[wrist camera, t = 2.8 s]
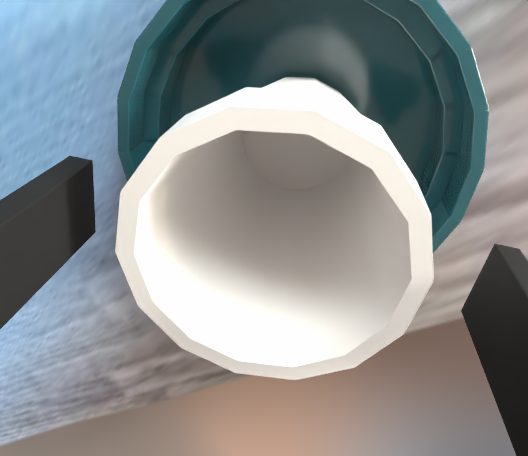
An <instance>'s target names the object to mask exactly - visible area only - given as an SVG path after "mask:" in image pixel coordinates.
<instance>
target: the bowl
mask: <svg viewBox="0 0 528 456" xmlns="http://www.w3.org/2000/svg"><path fill="white" fill-rule="evenodd" d="M285 77H304V78H316V79H317V80H319V81H321V82H323V83H324V84H326V85H328V86H330V87H332V88H333V89H335V90H337V91H338V92H340V93H341V94H342V95H343V96H344V97H345V98H346V99H347V101H348V102H349V103H350V104H351V105H352V106H353V107H354V108H355V109H356V110H357V111H358V112H359V113H360V114H361V115H363V116H364V117H366V118H368V119H370V120H372V121H373V122H375V123H377V124H379V125H381V127H382V128H383V130H384V131H385V133H386V134H387V136H388V137H389V139H390V141H391V142H392V144H393V145H394V147H395V148H396V150H397V151H398V153H399V155H400V156H401V158H402V159H403V161H404V162H405V164H406V165H407V167H408V168H409V170H410V172H411V173H412V175H413V176H414V178H415V179H416V181H417V183H418V186H419V188H420V190H421V192H422V195H423V197H424V199H425V202H426V204H427V206H428V209H429V211H430V213H431V217H432V246H433V253H434V251H435V250H436V249H437V248H438V247H439V246H440V245H441V244H442V242H443V241H444V240H445V239H446V238H447V237H448V236H449V234H450V233H451V232H452V231H453V230H454V229H455V228H456V227H457V225H458V224H459V223H460V222H461V220H462V218H463V216H464V214H465V211H466V209H467V207H468V205H469V202H470V200H471V198H472V196H473V193H474V191H475V189H476V186H477V184H478V182H479V180H480V177H481V175H482V173H483V171H484V165H485V153H486V141H487V129H488V116H489V106H488V103H487V99H486V95H485V92H484V88H483V85H482V81H481V78H480V74H479V70H478V67H477V63H476V60H475V56H474V53H473V49H472V47H471V45H470V44H469V42H468V41H467V40H466V38H465V37H464V36H463V34H462V33H461V32H460V30H459V29H458V28H457V26H456V25H455V24H454V22H453V21H452V20H451V18H450V17H449V16H448V14H447V13H446V12H445V10H444V9H443V8H442V6H441V5H440V4H439V2H438V1H437V0H167V1H166V2H165V3H164V5H163V6H162V7H161V9H160V10H159V11H158V12H157V14H156V15H155V16H154V18H153V19H152V20H151V22H150V23H149V24H148V26H147V27H146V28H145V29H144V31H143V32H142V33H141V35H140V36H139V37H138V39H137V40H136V42H135V44H134V47H133V50H132V53H131V56H130V59H129V62H128V66H127V69H126V72H125V75H124V78H123V81H122V84H121V87H120V90H119V94H118V154H119V157H120V160H121V163H122V166H123V169H124V172H125V175H126V178H127V181H129V179H130V178H131V176H132V175H133V174H134V172H135V171H136V169H137V168H138V167H139V165H140V164H141V163H142V161H143V160H144V158H145V157H146V156H147V154H148V153H149V152H150V150H151V149H152V147H153V146H154V145H155V143H156V142H157V140H158V139H159V138H160V137H161V136H162V135H163V134H164V133H166V132H167V131H168V130H169V129H170V128H171V127H172V126H173V125H175V124H176V123H177V122H178V121H179V120H180V119H181V118H183V117H184V116H185V115H186V114H189V113H191V112H193V111H195V110H197V109H200V108H202V107H204V106H206V105H208V104H211V103H213V102H215V101H217V100H219V99H222V98H224V97H226V96H228V95H230V94H232V93H235V92H237V91H239V90H241V89H243V88H246V87H251V88H262V87H265V86H267V85H269V84H272V83H274V82H276V81H278V80H281V79H283V78H285Z"/></svg>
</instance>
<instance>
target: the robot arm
mask: <svg viewBox="0 0 528 456" xmlns="http://www.w3.org/2000/svg"><path fill="white" fill-rule="evenodd" d="M94 233H95V209H94V186H93V163H92V160H88V159H83V158H78V157H73V156H69V157H67V158H66V159H64V160H63V161H61V162H60V163H58V164H56V165H55V166H53V167H52V168H50V169H49V170H47V171H45V172H44V173H42V174H41V175H39V176H38V177H36V178H35V179H33V180H31V181H30V182H28V183H27V184H25V185H24V186H22V187H20V188H19V189H17V190H16V191H14V192H13V193H11V194H9V195H8V196H6V197H5V198H3V199H2V200H0V329H1V328H2V327H3V326H4V325H5V324H6V323H7V322H8V321H9V320H10V319H11V318H12V317H13V316H14V315H15V314H16V313H17V312H18V311H19V310H20V309H21V308H22V306H23V305H24V304H25V303H26V302H27V301H28V300H29V299H30V298H31V297H32V296H33V295H34V294H35V293H36V292H37V291H38V290H39V289H40V288H41V287H42V286H43V285H44V284H45V283H46V282H47V281H48V280H49V279H50V278H51V277H52V276H53V275H54V274H55V273H56V272H57V271H58V270H59V269H60V268H61V267H62V266H63V265H64V264H65V263H66V262H67V261H68V260H69V259H70V257H71V256H72V255H73V254H74V253H75V252H76V251H77V250H78V249H79V248H80V247H81V246H82V245H83V244H84V243H85V242H86V241H87V240H88V239H89V238H90V237H91V236H92V235H93V234H94ZM461 312H462V314H463V317H464V319H465V322H466V324H467V327H468V330H469V332H470V335H471V338H472V340H473V343H474V346H475V348H476V351H477V353H478V356H479V359H480V361H481V364H482V366H483V369H484V372H485V374H486V377H487V380H488V382H489V385H490V388H491V390H492V392H493V395H494V398H495V401H496V403H497V406H498V408H499V411H500V414H501V416H502V419H503V422H504V424H505V427H506V429H507V432H508V434H509V437H510V440H511V442H512V445H513V448H514V450H515V453H516V456H528V261H527V259H526V258H525V256H524V255H523V254H522V252H521V251H520V249H517V248H512V247H508V246H503V245H498V244H494V246H493V248H492V250H491V252H490V254H489V256H488V258H487V260H486V262H485V264H484V266H483V268H482V270H481V272H480V274H479V276H478V278H477V280H476V282H475V284H474V286H473V288H472V290H471V292H470V294H469V296H468V298H467V300H466V302H465V304H464V306H463V308H462V310H461Z"/></svg>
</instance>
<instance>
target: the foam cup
mask: <svg viewBox="0 0 528 456" xmlns="http://www.w3.org/2000/svg"><path fill="white" fill-rule="evenodd" d="M115 253H116V255H117V257H118V260H119V262H120V264H121V267H122V269H123V272H124V274H125V276H126V279H127V281H128V283H129V286H130V288H131V291H132V293H133V295H134V298H135V300H136V302H137V305H138V307H140V308H141V309H142V310H143V311H144V312H145V313H146V314H147V315H148V316H149V317H150V318H151V319H152V320H153V321H154V322H155V323H156V324H157V325H158V326H159V327H160V328H161V329H162V330H163V331H164V332H165V333H166V334H167V335H168V336H169V337H170V338H171V339H172V340H173V341H174V342H175V343H176V344H177V345H178V346H179V347H180V348H183V349H185V350H187V351H189V352H191V353H193V354H195V355H198V356H200V357H202V358H204V359H206V360H208V361H211V362H213V363H215V364H217V365H219V366H221V367H223V368H226V369H228V370H230V371H232V372H234V373H240V374H248V375H256V376H265V377H273V378H282V379H290V380H298V379H303V378H308V377H312V376H317V375H322V374H326V373H331V372H336V371H340V370H344V369H350V368H354V367H356V366H357V365H359V364H360V363H362V362H363V361H365V360H366V359H368V358H369V357H371V356H372V355H374V354H375V353H377V352H378V351H380V350H381V349H382V348H384V347H385V346H387V345H388V344H390V343H391V342H393V341H394V340H396V339H397V338H399V337H400V336H402V335H403V334H404V333H405V331H406V330H407V328H408V326H409V324H410V323H411V321H412V319H413V317H414V315H415V314H416V312H417V310H418V308H419V306H420V305H421V303H422V301H423V299H424V297H425V296H426V294H427V292H428V290H429V288H430V287H431V285H432V283H433V281H434V275H433V246H432V217H431V213H430V211H429V209H428V206H427V204H426V202H425V199H424V197H423V195H422V192H421V190H420V188H419V186H418V183H417V181H416V179H415V178H414V176H413V175H412V173H411V172H410V170H409V168H408V167H407V165H406V164H405V162H404V161H403V159H402V158H401V156H400V155H399V153H398V151H397V150H396V148H395V147H394V145H393V144H392V142H391V141H390V139H389V137H388V136H387V134H386V133H385V131H384V130H383V128H382V127H381V125H379V124H377V123H375V122H373V121H372V120H370V119H368V118H366V117H364V116H363V115H361V114H360V113H359V112H358V111H357V110H356V109H355V108H354V107H353V106H352V105H351V104H350V103H349V102H348V101H347V99H346V98H345V97H344V96H343V95H342V94H341V93H340V92H338V91H337V90H335V89H333V88H332V87H330V86H328V85H326V84H324V83H323V82H321V81H319V80H317V79H316V78H304V77H285V78H283V79H281V80H278V81H276V82H274V83H272V84H269V85H267V86H265V87H262V88H251V87H246V88H243V89H241V90H239V91H237V92H235V93H232V94H230V95H228V96H226V97H224V98H222V99H219V100H217V101H215V102H213V103H211V104H208V105H206V106H204V107H202V108H200V109H197V110H195V111H193V112H191V113H189V114H186V115H185V116H184V117H183V118H181V119H180V120H179V121H178V122H177V123H176V124H175V125H173V126H172V127H171V128H170V129H169V130H168V131H167V132H166V133H164V134H163V135H162V136H161V137H160V138H159V139H158V140H157V142H156V143H155V145H154V146H153V147H152V149H151V150H150V152H149V153H148V154H147V156H146V157H145V158H144V160H143V161H142V163H141V164H140V165H139V167H138V168H137V169H136V171H135V172H134V174H133V175H132V176H131V178H130V179H129V181H128V182H127V183H126V185H125V186H124V187H123V189H122V190H121V192H120V201H119V213H118V225H117V237H116V248H115Z"/></svg>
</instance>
